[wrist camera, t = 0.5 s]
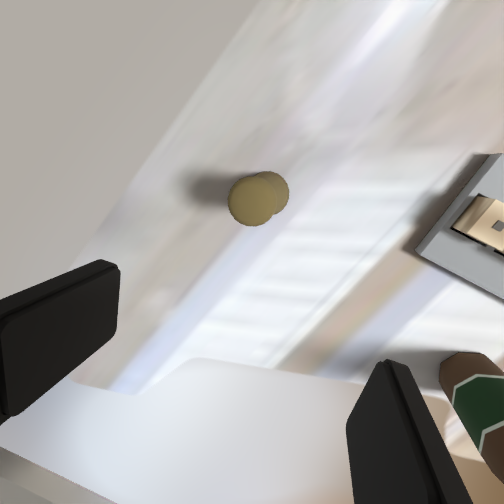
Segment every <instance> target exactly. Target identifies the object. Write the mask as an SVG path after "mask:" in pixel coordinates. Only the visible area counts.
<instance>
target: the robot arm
mask: <svg viewBox="0 0 504 504" xmlns="http://www.w3.org/2000/svg"><path fill="white" fill-rule="evenodd" d="M120 275H121V273H120V270H119V269H118V267H117V265H116V264H114V263H111V262H108V261H105V260H102V259H99V260H96V261H94V262H91V263H89V264H86V265H84V266H81V267H79V268H77V269H74V270H72V271H69V272H67V273H64V274H62V275H59V276H57V277H55V278H53V279H50V280H47V281H45V282H43V283H40V284H37V285H35V286H33V287H30V288H28V289H25V290H23V291H20V292H18V293H15V294H13V295H10V296H8V297H6V298H3V299H1V300H0V425H1V424H2V423H4V422H5V421H6V420H7V419H9V418H10V417H11V416H16V415H18V414H20V413H21V412H22V411H24V410H25V409H26V408H28V407H29V406H30V405H31V404H32V403H34V402H35V401H36V400H37V399H39V398H40V397H41V396H42V395H43V394H45V393H46V392H47V391H48V390H50V389H51V388H52V387H53V386H54V385H56V384H57V383H58V382H59V381H60V380H62V379H63V378H64V377H65V376H67V375H68V374H69V373H70V372H71V371H73V370H74V369H75V368H76V367H77V366H79V365H80V364H81V363H82V362H84V361H85V360H86V359H87V358H88V357H90V356H91V355H92V354H93V353H94V352H96V351H97V350H98V349H99V348H101V347H102V346H103V345H104V344H105V343H107V342H108V341H109V340H110V339H111V338H112V337H113V336H114V334H115V332H116V328H117V315H118V302H119V289H120ZM346 437H347V445H348V454H349V462H350V471H351V478H352V487H353V496H354V504H473V502H472V500H471V498H470V496H469V494H468V492H467V489H466V487H465V485H464V483H463V481H462V479H461V477H460V475H459V473H458V471H457V468H456V466H455V464H454V462H453V460H452V458H451V456H450V454H449V452H448V449H447V447H446V445H445V443H444V441H443V439H442V437H441V435H440V433H439V431H438V428H437V427H436V424H435V422H434V420H433V418H432V416H431V414H430V412H429V410H428V407H427V405H426V403H425V401H424V399H423V397H422V395H421V393H420V391H419V388H418V386H417V384H416V382H415V380H414V378H413V376H412V374H411V372H410V370H409V368H408V366H406V365H404V364H401V363H398V362H395V361H392V360H389V359H386V360H385V361H384V362H381V361H380V362H378V363H377V364H376V366H375V368H374V370H373V372H372V374H371V376H370V378H369V380H368V381H367V383H366V385H365V387H364V389H363V391H362V393H361V395H360V397H359V399H358V400H357V403H356V404H355V406H354V408H353V410H352V412H351V414H350V416H349V418H348V420H347V423H346ZM0 504H117V503H115V502H113V501H111V500H109V499H107V498H105V497H103V496H101V495H98V494H97V493H94V492H92V491H90V490H88V489H86V488H84V487H82V486H80V485H78V484H76V483H74V482H72V481H70V480H68V479H66V478H64V477H62V476H60V475H58V474H56V473H54V472H52V471H50V470H47V469H45V468H43V467H41V466H39V465H37V464H35V463H33V462H31V461H29V460H27V459H25V458H23V457H21V456H19V455H16V454H14V453H12V452H10V451H8V450H6V449H4V448H2V447H0Z"/></svg>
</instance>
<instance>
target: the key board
mask: <svg viewBox="0 0 504 504" xmlns="http://www.w3.org/2000/svg"><path fill="white" fill-rule="evenodd" d="M476 195H477V196H479V197H485V198H491V199H497V200H499V201H501V202H502V203H504V154H503V153H499V154H490V156H489V157H488V158H487V159H486V161H485V162H484V163H483V164H482V166H481V167H480V168H479V170H478V171H477V172H476V173H475V175H474V176H473V177H472V178H471V180H470V181H469V182H468V183H467V185H466V186H465V187H464V188H463V190H462V191H461V192H460V193H459V195H458V196H457V197H456V198H455V200H454V201H453V202H452V204H451V205H450V206H449V207H448V209H447V210H446V211H445V212H444V214H443V215H442V216H441V217H440V219H439V220H438V221H437V222H436V224H435V225H434V226H433V227H432V229H431V230H430V231H429V232H428V234H427V235H426V236H425V237H424V239H423V240H422V241H421V243H420V244H419V245H418V246H417V248H416V249H415V250H414V251H416V252H417V253H418V254H419V255H421V256H423V257H425V258H426V259H428V260H430V261H432V262H434V263H436V264H438V265H440V266H442V267H443V268H445V269H447V270H449V271H451V272H453V273H455V274H457V275H459V276H460V277H462V278H464V279H466V280H468V281H470V282H472V283H474V284H476V285H478V286H479V287H481V288H483V289H485V290H487V291H489V292H491V293H493V294H495V295H496V296H498V297H500V298H502V299H504V257H503V256H502V255H500V254H498V253H496V252H494V250H495V249H496V248H493V247H491V246H489V245H487V244H484V243H482V242H480V241H477V242H474V241H473V240H471V239H469V238H467V237H465V236H463V235H461V234H459V233H457V232H455V231H453V230H451V229H449V228H450V227H451V226H452V225H453V223H454V222H455V221H456V220H457V219H458V217H459V216H460V215H461V214H462V212H463V211H464V210H465V209H466V208H467V206H468V205H469V204H470V203H471V202H472V200H473V199H474V198H475V197H476Z"/></svg>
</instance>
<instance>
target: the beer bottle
mask: <svg viewBox="0 0 504 504" xmlns="http://www.w3.org/2000/svg"><path fill="white" fill-rule="evenodd" d="M439 382H440V384H441V386H442V388H443V391H444V392H445V394H446V396H447V397H448V399H449V401H450V403H451V404H452V406H453V408H454V410H455V411H456V413H457V415H458V416H459V418H460V420H461V422H462V423H463V425H464V427H465V429H466V430H467V432H468V434H469V436H470V437H471V439H472V441H473V442H474V444H475V446H476V448H477V449H478V451H479V453H480V455H481V456H482V458H483V459H484V461H485V462H486V463H487V465H488V466H489V468H490V469H491V471H492V472H493V473H494V474H495V476H496V477H497V478H498V479H499V480H501V481H502V483H503V484H504V372H503V371H502V370H501V369H500V368H499V367H498V366H496V365H495V364H494V363H493V362H492V361H491V360H490V359H489V358H487V357H486V356H485V355H484V354H477V353H460V352H458V353H457V354H455V355H453V356H452V357H450V358H448V359H447V360H445V361H443V362H442V363H441V367H440V375H439Z"/></svg>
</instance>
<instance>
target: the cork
mask: <svg viewBox="0 0 504 504" xmlns="http://www.w3.org/2000/svg"><path fill="white" fill-rule="evenodd" d="M288 199H289V189H288V185H287V183H286V181H285V180H284V178H283V177H281V176H280V175H279V174H277V173H274V172H261V173H259V174H257V175H256V176H249V177H245V178H242V179H240V180H239V181H237V182H236V183H235V184H234V185H233V187H232V188H231V190H230V192H229V196H228V207H229V210H230V213H231V215H232V216H233V217H234V219H235V220H237V221H238V222H239V223H241V224H243V225H246V226H259V225H262V224H264V223H265V222H267V221H268V220H269V219H270V218H271V217H272V215H274V214H277V213H279V212H280V211H282V210H283V208H284V207H285V206H286V205H287V202H288Z"/></svg>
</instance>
